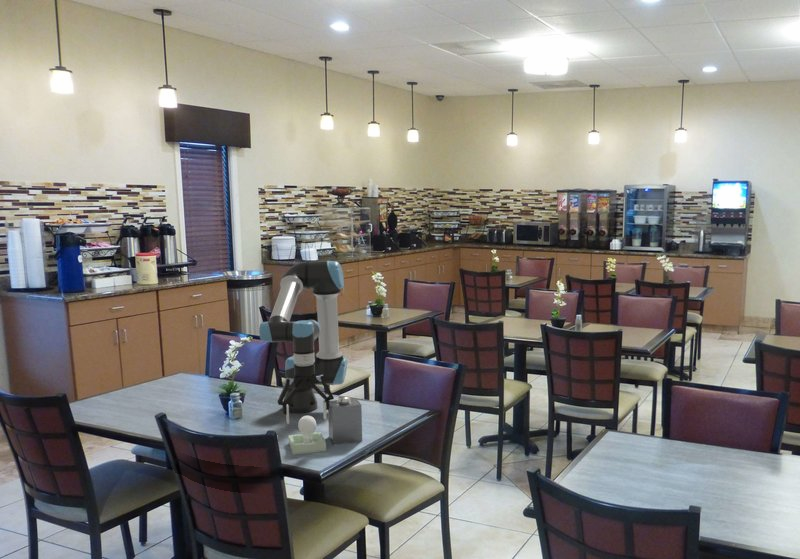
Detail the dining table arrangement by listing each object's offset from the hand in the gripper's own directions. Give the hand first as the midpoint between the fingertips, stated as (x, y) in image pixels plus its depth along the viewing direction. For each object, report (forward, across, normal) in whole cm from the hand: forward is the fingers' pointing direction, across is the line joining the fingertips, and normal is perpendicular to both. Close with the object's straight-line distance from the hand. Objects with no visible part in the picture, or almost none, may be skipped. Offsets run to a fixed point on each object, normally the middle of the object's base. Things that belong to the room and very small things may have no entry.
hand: (306, 420), depth 250 cm
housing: (+10, +15, +3) cm, 18 cm away
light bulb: (+9, 0, 0) cm, 9 cm away
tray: (+10, 0, -1) cm, 10 cm away
